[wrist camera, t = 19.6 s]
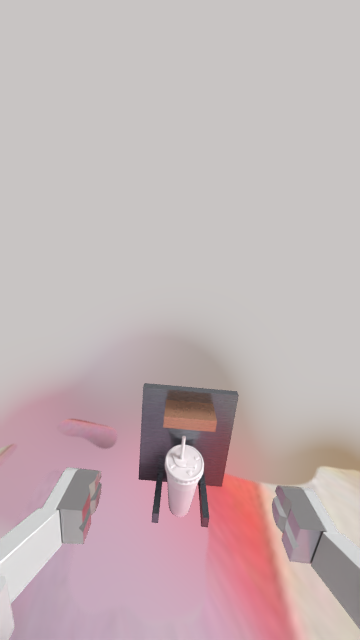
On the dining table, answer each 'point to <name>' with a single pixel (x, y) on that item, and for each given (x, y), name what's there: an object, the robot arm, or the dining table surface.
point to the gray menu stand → (185, 434)
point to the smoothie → (182, 476)
